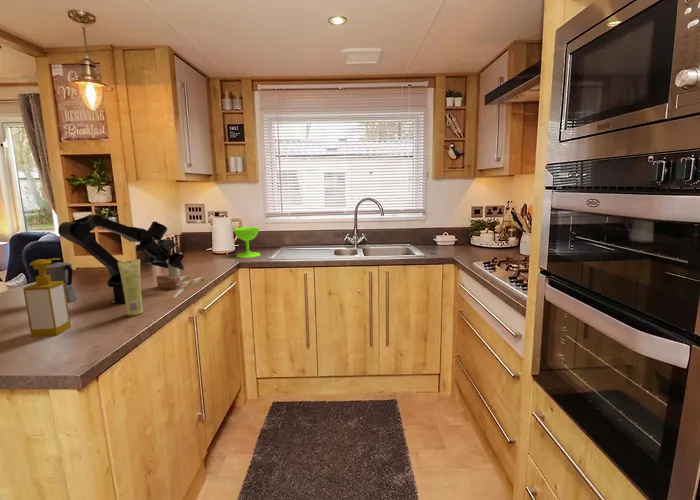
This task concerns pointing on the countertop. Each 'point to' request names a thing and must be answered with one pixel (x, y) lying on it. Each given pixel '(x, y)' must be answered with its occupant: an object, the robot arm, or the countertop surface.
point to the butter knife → (178, 292)
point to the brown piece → (175, 281)
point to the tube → (131, 286)
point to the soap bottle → (46, 303)
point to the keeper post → (173, 271)
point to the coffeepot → (62, 277)
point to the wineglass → (247, 240)
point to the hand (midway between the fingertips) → (176, 268)
